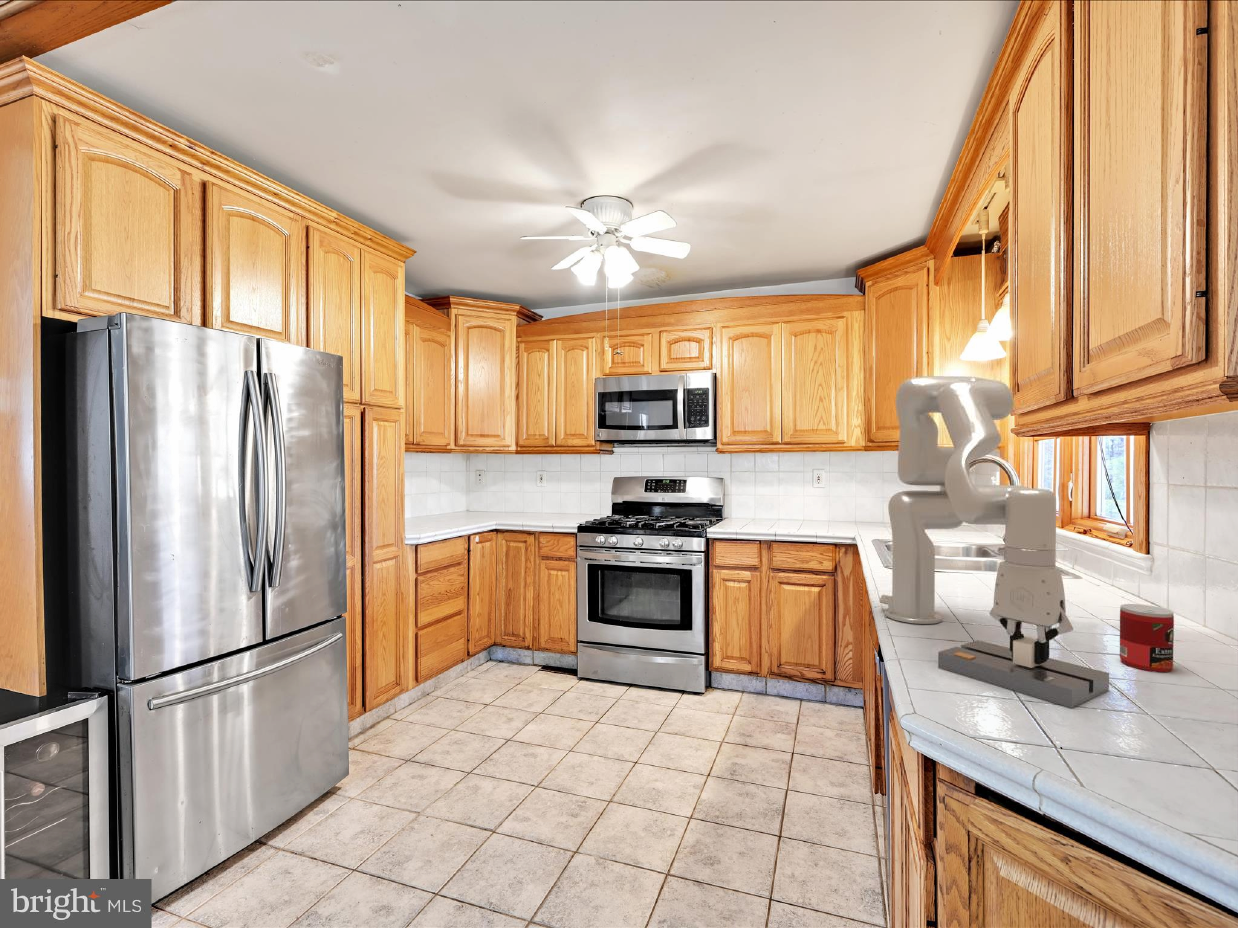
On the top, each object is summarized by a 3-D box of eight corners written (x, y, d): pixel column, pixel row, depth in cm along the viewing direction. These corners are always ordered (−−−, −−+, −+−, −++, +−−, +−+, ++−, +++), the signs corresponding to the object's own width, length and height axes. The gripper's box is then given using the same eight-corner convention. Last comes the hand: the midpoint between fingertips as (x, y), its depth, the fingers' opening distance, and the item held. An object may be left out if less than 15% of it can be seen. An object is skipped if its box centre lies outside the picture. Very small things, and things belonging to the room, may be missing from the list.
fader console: (938, 667, 116) (938, 650, 116) (977, 654, 124) (977, 639, 124) (1071, 708, 98) (1072, 688, 98) (1108, 690, 105) (1109, 671, 105)
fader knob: (1012, 673, 109) (1013, 640, 109) (1026, 668, 112) (1026, 636, 112) (1031, 679, 107) (1031, 645, 107) (1045, 673, 109) (1045, 640, 109)
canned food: (1159, 675, 112) (1160, 615, 112) (1110, 661, 120) (1110, 605, 119) (1182, 669, 115) (1183, 611, 115) (1132, 656, 123) (1133, 602, 123)
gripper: (971, 553, 114) (971, 651, 114) (1073, 566, 100) (1072, 678, 100) (992, 549, 118) (992, 644, 118) (1093, 562, 104) (1092, 669, 104)
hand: (1029, 658), depth 109 cm, fingers closed on fader knob, 3 cm apart
